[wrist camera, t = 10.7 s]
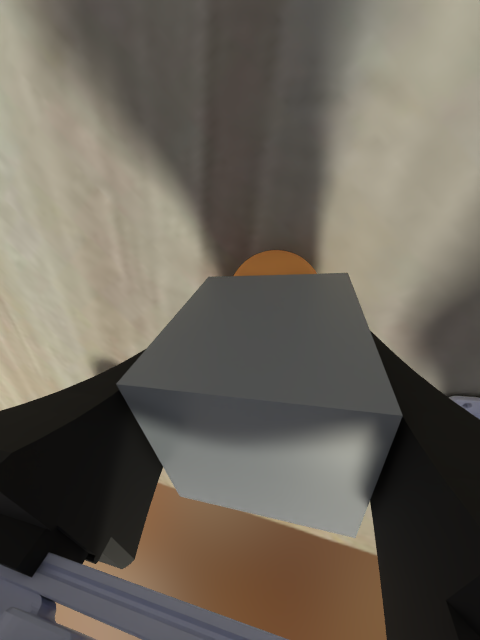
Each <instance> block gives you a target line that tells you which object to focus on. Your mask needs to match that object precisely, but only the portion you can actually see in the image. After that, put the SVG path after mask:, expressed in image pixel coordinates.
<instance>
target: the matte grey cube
mask: <svg viewBox="0 0 480 640" xmlns="http://www.w3.org/2000/svg"><path fill="white" fill-rule="evenodd" d="M116 385H117V387H118V388H119V390H120V392H121V394H122V395H123V397H124V399H125V401H126V402H127V404H128V406H129V408H130V409H131V411H132V413H133V415H134V416H135V418H136V420H137V422H138V423H139V425H140V427H141V429H142V430H143V432H144V434H145V436H146V438H147V439H148V441H149V443H150V445H151V446H152V448H153V450H154V452H155V453H156V455H157V457H158V459H159V460H160V462H161V464H162V466H163V467H164V469H165V471H166V473H167V474H168V476H169V478H170V480H171V481H172V483H173V485H174V487H175V488H176V490H177V492H178V494H179V495H180V496H181V497H185V498H189V499H194V500H198V501H202V502H206V503H210V504H215V505H219V506H223V507H227V508H232V509H236V510H240V511H244V512H248V513H252V514H257V515H261V516H265V517H269V518H273V519H278V520H282V521H286V522H290V523H294V524H299V525H303V526H307V527H311V528H315V529H320V530H324V531H328V532H332V533H336V534H341V535H345V536H349V537H353V538H356V535H357V532H358V530H359V527H360V525H361V522H362V520H363V517H364V514H365V512H366V509H367V507H368V504H369V501H370V499H371V496H372V494H373V491H374V489H375V486H376V483H377V481H378V478H379V476H380V473H381V471H382V468H383V465H384V463H385V460H386V458H387V455H388V452H389V450H390V447H391V445H392V442H393V440H394V437H395V434H396V432H397V429H398V427H399V424H400V421H401V419H402V416H403V415H402V413H401V410H400V407H399V405H398V402H397V400H396V397H395V394H394V392H393V389H392V387H391V384H390V381H389V379H388V376H387V374H386V371H385V368H384V366H383V363H382V361H381V358H380V356H379V353H378V350H377V348H376V345H375V343H374V340H373V337H372V335H371V332H370V330H369V327H368V324H367V322H366V319H365V317H364V314H363V311H362V309H361V306H360V304H359V301H358V298H357V296H356V293H355V291H354V288H353V285H352V283H351V280H350V278H349V275H348V273H330V274H294V275H258V276H222V277H208V278H207V279H206V281H205V282H204V283H203V284H202V285H201V286H200V287H199V289H198V290H197V291H196V292H195V293H194V294H193V296H192V297H191V298H190V299H189V300H188V301H187V303H186V304H185V305H184V306H183V307H182V308H181V309H180V311H179V312H178V313H177V314H176V315H175V316H174V318H173V319H172V320H171V321H170V322H169V323H168V325H167V326H166V327H165V328H164V329H163V330H162V331H161V333H160V334H159V335H158V336H157V337H156V338H155V340H154V341H153V342H152V343H151V344H150V345H149V347H148V348H147V349H146V350H145V351H144V352H143V353H142V355H141V356H140V357H139V358H138V359H137V360H136V362H135V363H134V364H133V365H132V366H131V367H130V369H129V370H128V371H127V372H126V373H125V374H124V375H123V377H122V378H121V379H120V380H119V381H118V382H117V384H116Z"/></svg>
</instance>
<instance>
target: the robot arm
mask: <svg viewBox="0 0 480 640" xmlns="http://www.w3.org/2000/svg"><path fill="white" fill-rule="evenodd" d="M370 332H371V331H370ZM371 335H372V337H373V340H374V343H375V345H376V348H377V350H378V353H379V356H380V358H381V361H382V363H383V366H384V368H385V371H386V374H387V376H388V379H389V381H390V384H391V387H392V389H393V392H394V394H395V397H396V400H397V402H398V405H399V407H400V410H401V413H402V415H403V416H402V419H401V421H400V424H399V427H398V429H397V432H396V434H395V437H394V440H393V442H392V445H391V447H390V450H389V452H388V455H387V458H386V460H385V463H384V465H383V468H382V471H381V473H380V476H379V478H378V481H377V483H376V486H375V489H374V491H373V494H372V496H371V499H370V503H371V510H372V518H373V525H374V532H375V540H376V548H377V556H378V564H379V572H380V580H381V589H382V598H383V606H384V616H385V625H386V635H387V640H480V398H478V397H467V396H451V397H449V398H448V397H447V396H445V395H444V394H443V393H441V392H440V391H439V390H437V389H436V388H435V387H434V386H432V385H431V384H430V383H429V382H427V381H426V380H425V379H424V378H422V377H421V376H420V375H418V374H417V373H416V372H415V371H414V370H413V369H411V368H410V367H409V366H408V365H407V364H406V363H404V362H403V361H402V360H401V359H400V358H399V357H398V356H397V355H395V354H394V353H393V352H392V351H391V350H390V349H389V348H388V347H387V346H386V345H385V344H384V343H383V342H382V341H381V340H380V339H379V338H377V337H376V336H375V335H374V334H373V333H372V332H371ZM145 350H146V349H145ZM145 350H143V351H142V352H140V353H138V354H137V355H135V356H133V357H131V358H130V359H128V360H126V361H124V362H123V363H121V364H119V365H117V366H115V367H113V368H111V369H109V370H107V371H105V372H103V373H101V374H99V375H97V376H94V377H92V378H90V379H87V380H85V381H83V382H80V383H78V384H76V385H73V386H71V387H68V388H66V389H64V390H61V391H58V392H56V393H53V394H50V395H48V396H45V397H42V398H39V399H36V400H33V401H30V402H28V403H25V404H21V405H18V406H15V407H12V408H9V409H5V410H2V411H0V640H96V639H94V638H92V637H89V636H87V635H85V634H82V633H80V632H78V631H75V630H73V629H70V628H68V627H65V626H63V625H60V624H57V623H56V621H55V613H56V604H55V602H57V603H59V604H61V605H64V606H66V607H69V608H71V609H73V610H75V611H77V612H80V613H82V614H84V615H87V616H89V617H92V618H94V619H96V620H98V621H101V622H103V623H105V624H107V625H110V626H112V627H114V628H117V629H119V630H121V631H124V632H126V633H128V634H131V635H133V636H135V637H138V638H140V639H142V640H288V639H285V638H283V637H280V636H277V635H274V634H272V633H269V632H266V631H263V630H261V629H258V628H255V627H252V626H250V625H246V624H244V623H241V622H239V621H236V620H233V619H230V618H228V617H225V616H222V615H220V614H217V613H214V612H211V611H209V610H206V609H203V608H200V607H197V606H195V605H192V604H189V603H187V602H184V601H181V600H178V599H176V598H173V597H170V596H167V595H165V594H162V593H159V592H156V591H154V590H151V589H148V588H145V587H143V586H140V585H137V584H134V583H131V582H129V581H126V580H124V579H120V578H118V577H115V576H112V575H110V574H107V573H104V572H102V571H99V570H96V569H93V568H91V567H88V566H85V565H82V564H83V562H84V560H86V561H89V562H92V563H94V564H96V563H97V562H98V561H100V562H103V563H106V564H109V565H111V566H114V567H117V568H120V569H123V568H125V567H126V566H128V565H129V564H131V562H132V561H133V560H134V559H135V556H136V552H137V549H138V544H139V541H140V538H141V534H142V531H143V528H144V524H145V521H146V517H147V514H148V511H149V507H150V504H151V501H152V498H153V495H154V492H155V489H156V485H157V483H158V480H159V477H160V474H161V471H162V468H163V466H162V464H161V462H160V460H159V459H158V457H157V455H156V453H155V452H154V450H153V448H152V446H151V445H150V443H149V441H148V439H147V438H146V436H145V434H144V432H143V430H142V429H141V427H140V425H139V423H138V422H137V420H136V418H135V416H134V415H133V413H132V411H131V409H130V408H129V406H128V404H127V402H126V401H125V399H124V397H123V395H122V394H121V392H120V390H119V388H118V387H117V385H116V384H117V382H118V381H119V380H120V379H121V378H122V377H123V375H124V374H125V373H126V372H127V371H128V370H129V369H130V367H131V366H132V365H133V364H134V363H135V362H136V360H137V359H138V358H139V357H140V356H141V355H142V353H143V352H144V351H145Z"/></svg>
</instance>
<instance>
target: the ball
mask: <svg viewBox="0 0 480 640" xmlns="http://www.w3.org/2000/svg"><path fill="white" fill-rule="evenodd" d="M294 274H317V273H316V271H315V270H314V269H313V267H312V266H311V265H310V264H309V263H308V262H307V261H306V260H304V259H303V258H302V257H300V256H298V255H296V254H294V253H291V252H287V251H282V250H270V251H264V252H261V253H258V254H256V255H254V256H252V257H251V258H249V259H248V260H246V261H245V262H244V263H243V264H242V265H241V266H240V267H239V268H238V270H237V271H236V273H235V274H234V276H258V275H294Z"/></svg>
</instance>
